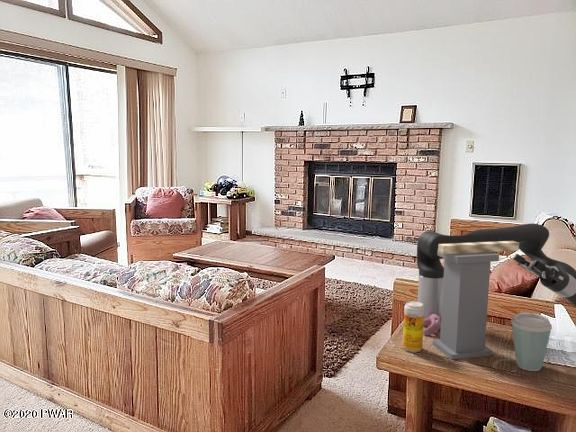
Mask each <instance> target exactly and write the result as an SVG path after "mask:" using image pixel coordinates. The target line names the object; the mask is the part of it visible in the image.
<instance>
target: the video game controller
mask: <svg viewBox="0 0 576 432" xmlns="http://www.w3.org/2000/svg"><path fill="white" fill-rule="evenodd" d="M424 327H425V329H423V336H431V335H434V334H435V333H436V332H438V331H439V330H441V323H440V317H439V316H438V315H434V314H433V315H430V316H429V317H428V318H426V319H425V320H424V325H423V328H424Z"/></svg>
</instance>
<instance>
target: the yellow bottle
mask: <svg viewBox="0 0 576 432" xmlns="http://www.w3.org/2000/svg"><path fill="white" fill-rule="evenodd" d="M403 310H404V311H403V312H404V313H403V330H402V331H403V332H402V347H403V348H404V350H406V351H407V352H409V351H410V352H409V353H419V352H421V350H422V349H423V342H424V334H423V331H424V326H423V325H424V306H423V304H422V303H420V302H418V301H415V300H413V301H411V300H409V301H406V303H405V305H404V309H403Z"/></svg>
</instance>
